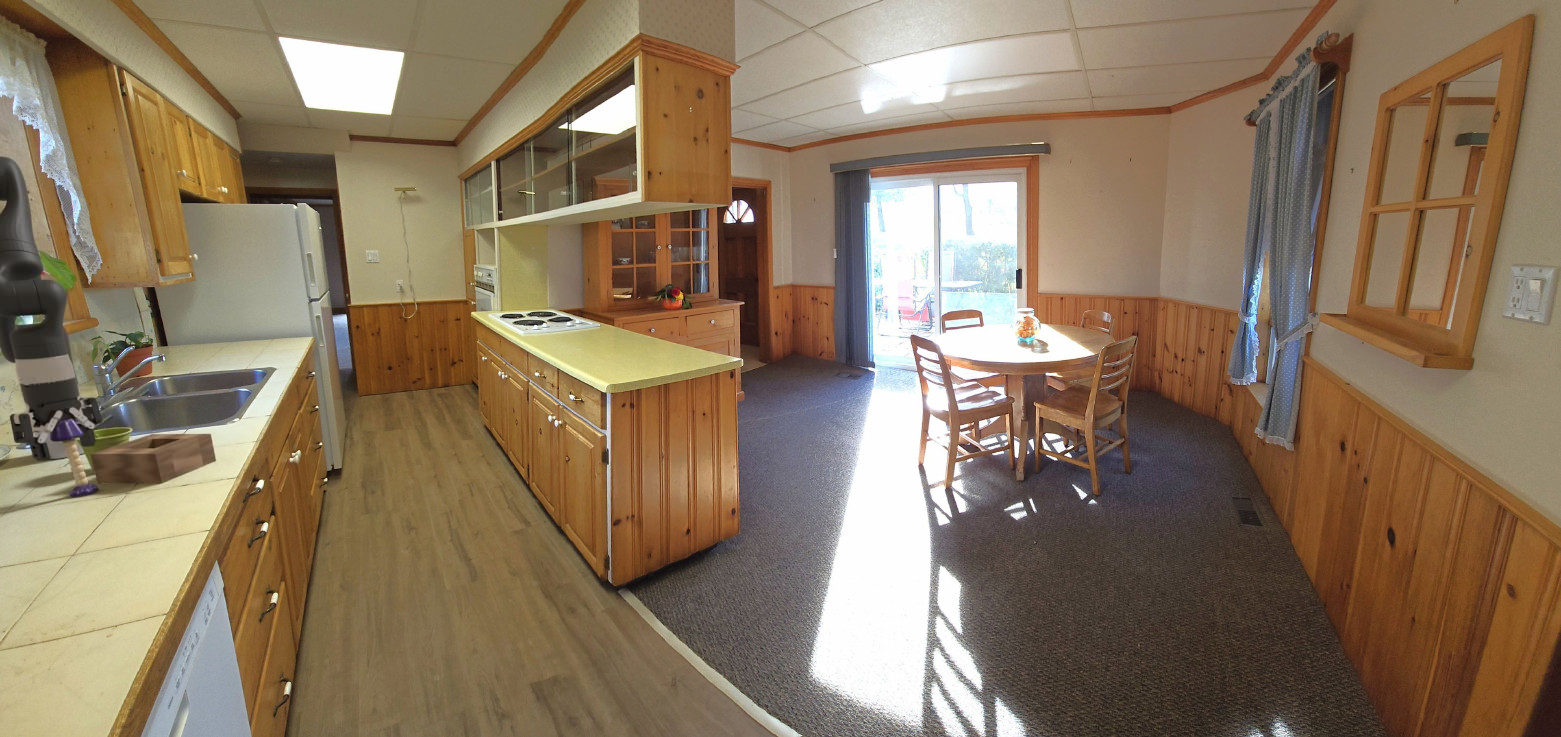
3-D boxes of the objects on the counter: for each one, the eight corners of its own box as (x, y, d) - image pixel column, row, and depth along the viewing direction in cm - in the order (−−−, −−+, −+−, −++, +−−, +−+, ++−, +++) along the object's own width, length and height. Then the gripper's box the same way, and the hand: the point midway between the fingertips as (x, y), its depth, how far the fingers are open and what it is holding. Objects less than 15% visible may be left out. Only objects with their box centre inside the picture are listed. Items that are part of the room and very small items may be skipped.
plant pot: (129, 458, 153) (121, 425, 151) (147, 464, 149) (139, 430, 147) (75, 471, 145) (66, 436, 143) (92, 477, 141) (83, 441, 139)
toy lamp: (76, 499, 129) (56, 423, 126) (59, 497, 130) (39, 422, 127) (104, 490, 134) (86, 416, 131) (88, 488, 135) (69, 415, 131)
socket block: (97, 483, 138) (90, 454, 136) (157, 461, 151) (151, 434, 150) (161, 483, 138) (155, 453, 136) (216, 460, 152) (210, 433, 150)
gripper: (67, 370, 133) (84, 442, 137) (-15, 386, 119) (7, 465, 123) (102, 370, 133) (119, 441, 137) (25, 386, 119) (46, 465, 123)
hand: (66, 452), depth 130 cm, fingers open, 8 cm apart
